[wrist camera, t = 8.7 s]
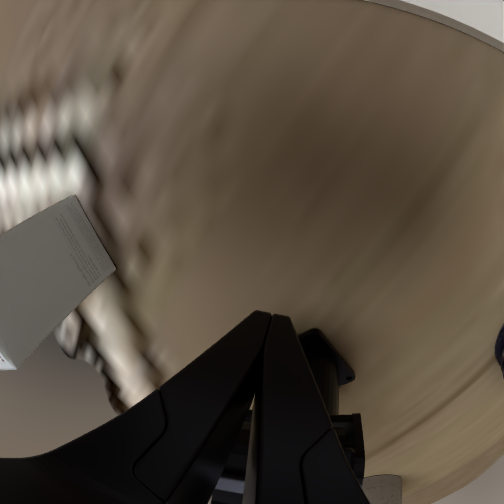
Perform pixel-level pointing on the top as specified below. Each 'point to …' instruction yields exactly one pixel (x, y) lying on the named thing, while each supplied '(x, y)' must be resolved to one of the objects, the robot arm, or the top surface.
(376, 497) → the thermos bottle
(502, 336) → the storage jar
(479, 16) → the panel
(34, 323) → the supplement box
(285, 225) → the top surface
